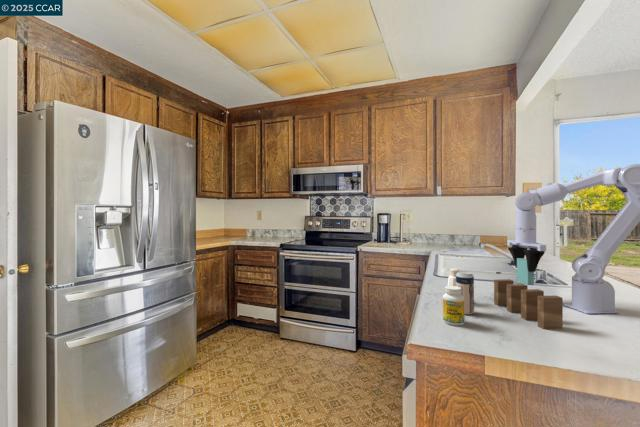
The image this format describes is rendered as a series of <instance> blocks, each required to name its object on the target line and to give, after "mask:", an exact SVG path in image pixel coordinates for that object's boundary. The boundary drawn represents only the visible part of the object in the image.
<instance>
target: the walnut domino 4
mask: <svg viewBox="0 0 640 427" xmlns="http://www.w3.org/2000/svg"><path fill="white" fill-rule="evenodd" d="M563 300H564V299H563V297H561V296H558V295H555V294H554V295H544V296H538V320H537V327H539V328H540V329H542V330H563V324H564V323H563V321H564V320H563V318H564V317H563V315H564V314H563V308H564V307H563V305H564V304H563V303H564V302H563Z"/></svg>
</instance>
